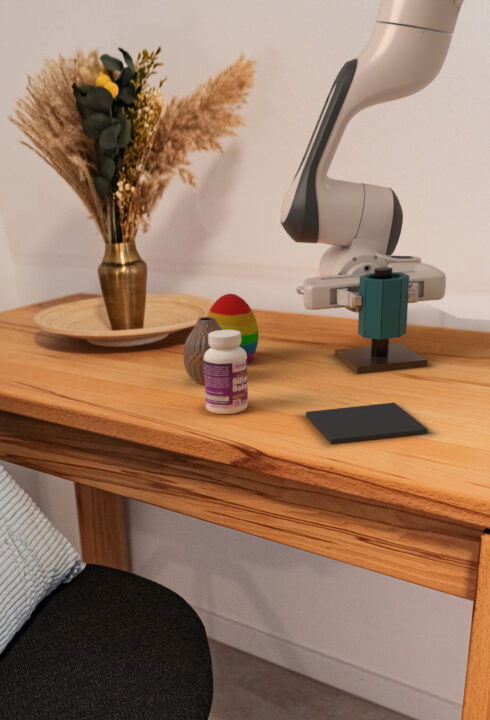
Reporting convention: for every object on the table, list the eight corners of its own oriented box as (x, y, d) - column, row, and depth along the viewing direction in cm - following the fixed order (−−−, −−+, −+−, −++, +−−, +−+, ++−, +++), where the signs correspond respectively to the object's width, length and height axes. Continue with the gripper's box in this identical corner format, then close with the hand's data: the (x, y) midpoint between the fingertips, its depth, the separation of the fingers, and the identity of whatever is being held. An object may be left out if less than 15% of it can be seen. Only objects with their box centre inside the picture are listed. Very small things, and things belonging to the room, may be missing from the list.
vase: (226, 388, 114) (223, 324, 110) (178, 387, 116) (174, 324, 113) (239, 374, 120) (237, 312, 116) (193, 373, 122) (190, 312, 118)
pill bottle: (242, 416, 103) (240, 338, 99) (201, 414, 105) (197, 338, 101) (252, 402, 108) (250, 327, 104) (212, 401, 109) (209, 327, 105)
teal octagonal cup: (395, 326, 122) (397, 270, 119) (411, 336, 116) (415, 277, 113) (353, 331, 121) (354, 274, 118) (368, 340, 116) (370, 282, 112)
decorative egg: (193, 365, 126) (190, 297, 122) (223, 352, 132) (221, 287, 128) (240, 371, 121) (238, 301, 117) (268, 357, 127) (268, 290, 123)
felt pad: (394, 407, 102) (394, 402, 102) (427, 434, 93) (428, 428, 93) (305, 416, 101) (305, 411, 101) (331, 444, 92) (331, 439, 92)
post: (399, 349, 126) (404, 260, 120) (427, 366, 117) (433, 270, 111) (334, 356, 125) (336, 266, 119) (357, 374, 116) (360, 277, 110)
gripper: (293, 266, 127) (310, 282, 115) (429, 255, 127) (460, 269, 114) (294, 308, 130) (310, 328, 118) (426, 297, 130) (456, 316, 117)
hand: (385, 299), depth 116 cm, fingers closed on teal octagonal cup, 6 cm apart
